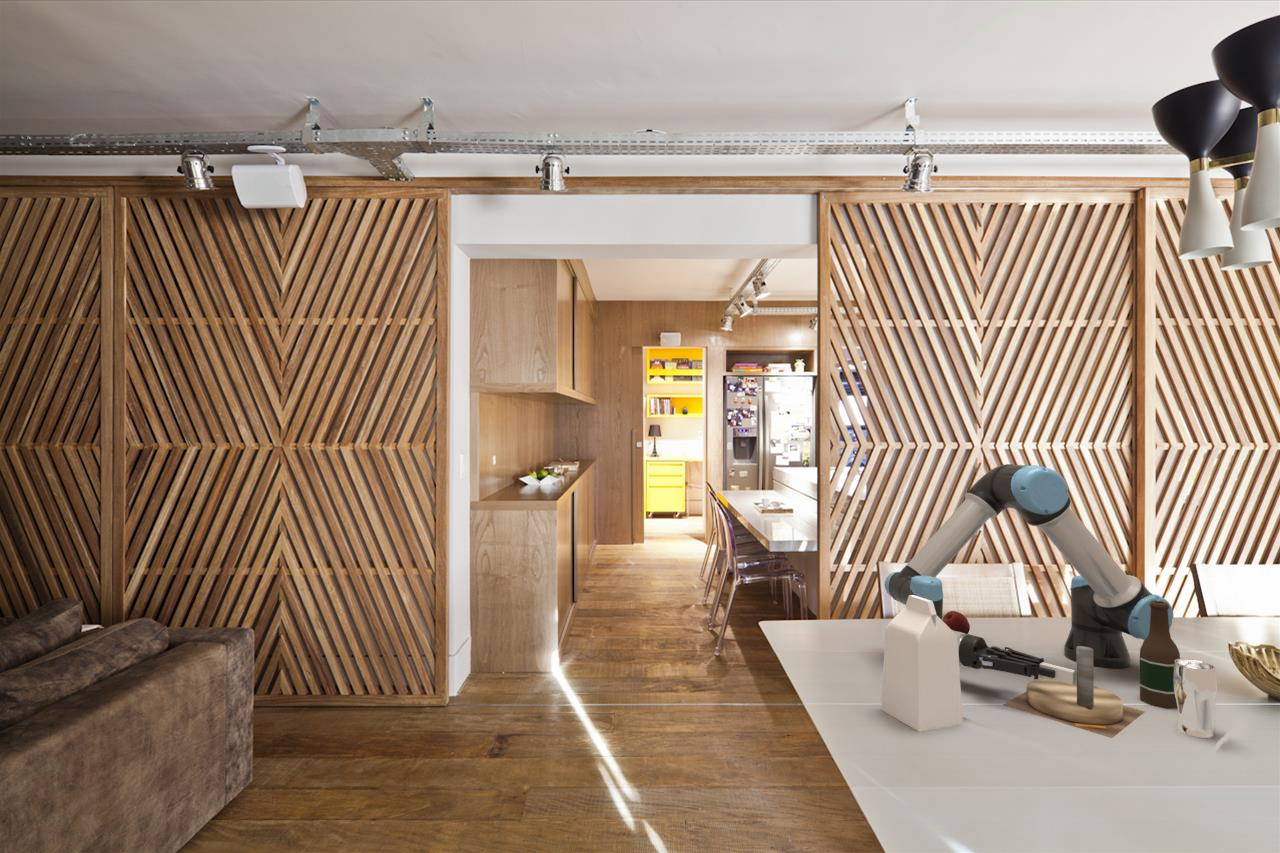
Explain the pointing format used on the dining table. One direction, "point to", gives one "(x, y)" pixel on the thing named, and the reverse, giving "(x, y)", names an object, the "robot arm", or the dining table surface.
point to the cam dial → (1076, 696)
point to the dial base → (1101, 729)
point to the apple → (956, 622)
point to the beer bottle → (1158, 660)
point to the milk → (921, 669)
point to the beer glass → (1195, 696)
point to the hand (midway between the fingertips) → (1074, 677)
